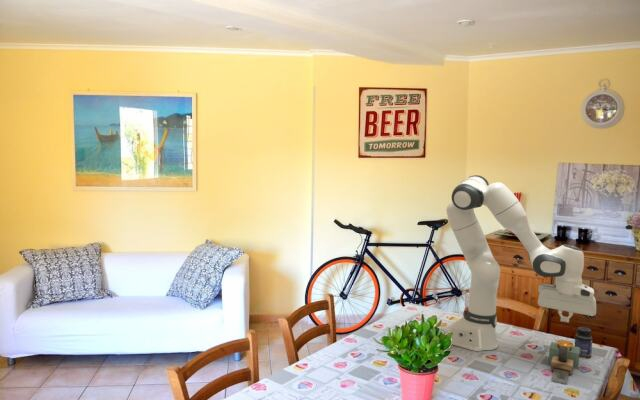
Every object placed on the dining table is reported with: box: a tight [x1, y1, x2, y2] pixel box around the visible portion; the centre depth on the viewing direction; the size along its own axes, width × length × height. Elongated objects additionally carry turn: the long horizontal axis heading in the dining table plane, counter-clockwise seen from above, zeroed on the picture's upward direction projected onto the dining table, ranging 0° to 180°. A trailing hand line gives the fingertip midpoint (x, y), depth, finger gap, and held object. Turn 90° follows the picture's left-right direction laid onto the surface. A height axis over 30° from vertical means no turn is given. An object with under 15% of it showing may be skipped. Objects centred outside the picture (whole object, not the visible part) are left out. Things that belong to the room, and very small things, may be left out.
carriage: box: [550, 346, 574, 376], centre depth 181 cm, size 7×6×8 cm
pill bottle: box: [574, 326, 593, 359], centre depth 194 cm, size 6×6×11 cm
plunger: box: [556, 339, 574, 351], centre depth 188 cm, size 6×6×6 cm
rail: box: [551, 367, 570, 386], centre depth 178 cm, size 5×15×2 cm, turn 149°
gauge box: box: [548, 341, 580, 370], centre depth 188 cm, size 10×7×6 cm
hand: (564, 321), depth 187 cm, fingers closed
